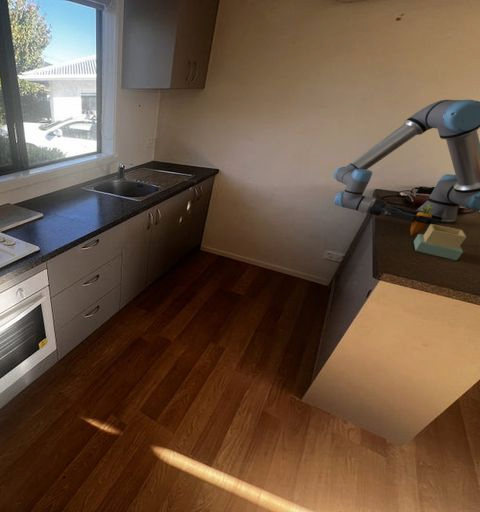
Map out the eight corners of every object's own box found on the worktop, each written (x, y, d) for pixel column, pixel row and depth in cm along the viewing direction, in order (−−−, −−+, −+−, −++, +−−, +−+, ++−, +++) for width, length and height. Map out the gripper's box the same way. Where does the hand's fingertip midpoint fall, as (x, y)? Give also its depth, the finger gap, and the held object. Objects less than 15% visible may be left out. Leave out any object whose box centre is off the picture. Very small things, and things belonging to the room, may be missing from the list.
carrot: (415, 238, 131) (435, 207, 124) (402, 234, 135) (420, 203, 128) (421, 237, 133) (440, 206, 126) (407, 232, 137) (426, 202, 130)
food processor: (413, 240, 130) (425, 221, 126) (452, 249, 123) (466, 229, 119) (415, 250, 122) (428, 230, 117) (456, 260, 115) (472, 239, 110)
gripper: (375, 210, 149) (439, 225, 132) (362, 216, 140) (429, 234, 123) (382, 195, 145) (449, 209, 129) (370, 202, 136) (439, 217, 120)
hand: (439, 221), depth 126 cm, fingers closed on carrot, 5 cm apart
